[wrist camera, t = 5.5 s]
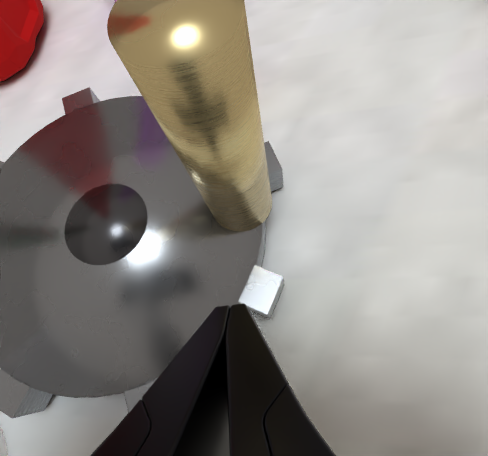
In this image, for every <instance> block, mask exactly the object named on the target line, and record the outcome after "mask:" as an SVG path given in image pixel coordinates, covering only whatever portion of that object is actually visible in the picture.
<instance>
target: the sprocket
mask: <svg viewBox="0 0 488 456" xmlns="http://www.w3.org/2000/svg"><path fill="white" fill-rule="evenodd" d="M107 29H108V36H109V39H110V42H111V44H112V45H113V47H114V49H115V51H116V52H117V54H118V56H119V57H120V59H121V61H122V62H123V64H124V66H125V67H126V69H127V71H128V72H129V74H130V76H131V78H132V79H133V81H134V83H135V84H136V86H137V88H138V89H139V91H140V93H141V94H142V96H129V97H121V98H114V99H109V100H105V101H101V102H100V100H99V99H98V98H97V96H96V95H95V94H94V93H93V91H92V90H91V89H90V87H89V88H86V89H84V90H82V91H79V92H77V93H74V94H72V95H69V96H67V97H64V98H62V100H63V105H64V110H65V114H66V115H64V116H62V117H60V118H59V119H57V120H55V121H54V122H52V123H50V124H48V125H47V126H45V127H44V128H43V129H41V130H40V131H39V132H37V133H36V134H34V135H33V136H32V137H31V138H29V139H28V140H27V141H26V142H25V143H24V144H23V145H21V146H20V147H19V148H18V149H17V150H16V151H15V152H14V153H13V154H12V155H11V156H10V157H9V159H8V160H7V161H6V162H5V163H4V162H1V161H0V368H1V369H0V411H2V412H3V413H5V414H6V415H8V416H9V417H11V418H16V417H20V416H24V415H28V414H32V413H36V412H40V411H44V410H45V408H46V406H47V404H48V402H49V401H50V399H51V397H52V395H59V396H67V397H74V398H79V397H101V396H107V395H112V394H118V393H123V392H124V394H125V399H126V404H127V408H128V413H129V412H130V411H131V410H132V408H133V407H134V406H135V405H136V403H137V402H138V401H139V400H142V396H143V395H144V394H145V393H146V391H147V390H148V389H149V388H150V387H151V385H152V384H153V383H154V382H155V380H156V379H157V378H158V377H159V375H160V374H161V373H162V372H163V371H164V369H165V368H166V367H167V366H168V364H169V363H170V362H171V361H172V360H173V358H174V357H175V356H176V355H177V353H178V352H179V351H180V350H181V349H182V347H183V346H184V345H185V344H186V342H187V341H188V340H189V339H190V338H191V336H192V335H193V334H194V333H195V331H196V330H197V329H198V328H199V327H200V325H201V324H202V323H203V322H204V320H205V319H206V318H207V317H208V315H209V314H210V313H211V312H212V311H213V309H214V308H215V307H218V306H226V305H229V306H230V307H231V306H232V305H234V304H242V303H244V304H246V305H247V307H248V309H250V310H252V311H254V312H256V313H258V314H261V315H263V316H265V317H267V318H271V316H272V313H273V311H274V308H275V306H276V304H277V301H278V299H279V296H280V294H281V291H282V289H283V286H284V280H283V276H280V275H278V274H275V273H273V272H271V271H268V270H266V269H263V268H261V266H262V262H263V257H264V252H265V239H266V226H265V220H266V218H267V217H268V215H269V213H270V211H271V207H272V196H271V192H272V191H274V190H277V189H279V188H282V187H283V175H282V168H281V166H280V163H279V161H278V159H277V157H276V155H275V153H274V151H273V149H272V147H271V145H270V143H269V141H268V142H265V143H264V139H263V132H262V125H261V118H260V111H259V104H258V96H257V89H256V82H255V75H254V68H253V61H252V54H251V47H250V39H249V32H248V25H247V18H246V11H245V4H244V0H117V1H116V2H115V4H114V5H113V8H112V10H111V12H110V15H109V18H108V24H107Z"/></svg>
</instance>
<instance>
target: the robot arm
mask: <svg viewBox="0 0 488 456" xmlns="http://www.w3.org/2000/svg"><path fill="white" fill-rule="evenodd" d="M90 456H336V455H335V454H334V453H333V451H332V450H331V449H330V447H329V446H328V444H327V443H326V442H325V440H324V439H323V438H322V436H321V435H320V434H319V432H318V431H317V429H316V428H315V426H314V425H313V423H312V422H311V421H310V419H309V418H308V416H307V415H306V413H305V411H304V410H303V408H302V406H301V404H300V403H299V401H298V399H297V398H296V396H295V394H294V392H293V390H292V388H291V387H290V386H289V383H288V381H287V380H286V378H285V376H284V374H283V372H282V370H281V368H280V367H279V365H278V363H277V361H276V359H275V357H274V355H273V354H272V352H271V350H270V348H269V346H268V344H267V342H266V341H265V339H264V337H263V335H262V333H261V331H260V329H259V328H258V326H257V324H256V322H255V320H254V318H253V316H252V315H251V313H250V311H249V309H248V307H247V305H246V304H244V303H242V304H234V305H232V306H231V307H230V306H229V305H226V306H218V307H215V308H214V309H213V311H212V312H211V313H210V314H209V315H208V317H207V318H206V319H205V320H204V322H203V323H202V324H201V325H200V327H199V328H198V329H197V330H196V331H195V333H194V334H193V335H192V336H191V338H190V339H189V340H188V341H187V342H186V344H185V345H184V346H183V347H182V349H181V350H180V351H179V352H178V353H177V355H176V356H175V357H174V358H173V360H172V361H171V362H170V363H169V364H168V366H167V367H166V368H165V369H164V371H163V372H162V373H161V374H160V375H159V377H158V378H157V379H156V380H155V382H154V383H153V384H152V385H151V387H150V388H149V389H148V390H147V391H146V393H145V394H144V395H143V396H142V400H139V401H138V402H137V403H136V405H135V406H134V407H133V408H132V410H131V411H130V412H129V413H128V414H127V416H126V417H125V418H124V419H123V420H122V421H121V423H120V424H119V425H118V426H117V427H116V428H115V430H114V431H113V432H112V433H111V434H110V435H109V436H108V437H107V438H106V439H105V440H104V442H103V443H102V444H101V445H100V446H99V447H98V448H97V449H96V450H95V451H94V452H93V453H92V454H91V455H90Z"/></svg>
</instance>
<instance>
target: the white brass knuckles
mask: <svg viewBox="0 0 488 456" xmlns="http://www.w3.org/2000/svg"><path fill="white" fill-rule="evenodd" d="M0 456H8V453H7V445H6V441H5V437H4V434H3V431H2V429H1V427H0Z"/></svg>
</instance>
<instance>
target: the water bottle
mask: <svg viewBox="0 0 488 456" xmlns="http://www.w3.org/2000/svg"><path fill="white" fill-rule="evenodd" d="M43 23H44V20H43V5H42V3H41V1H40V0H0V81H4V80H6V79H8V78H9V77H11V76H12V75H14V74H15V73H17V72H18V71H20V70H21V69H23V68H24V67H25V66H26V64H27V62H28V60H29V59H30V57H31V55H32V53H33V51H34V49H35V40H36V37H37V35H38V33H39V31H40V29H41V27H42V25H43Z"/></svg>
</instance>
